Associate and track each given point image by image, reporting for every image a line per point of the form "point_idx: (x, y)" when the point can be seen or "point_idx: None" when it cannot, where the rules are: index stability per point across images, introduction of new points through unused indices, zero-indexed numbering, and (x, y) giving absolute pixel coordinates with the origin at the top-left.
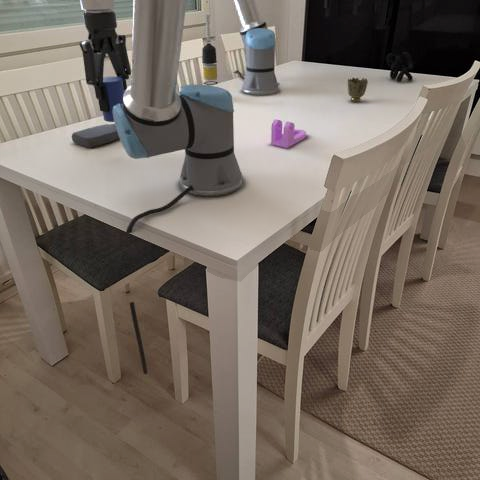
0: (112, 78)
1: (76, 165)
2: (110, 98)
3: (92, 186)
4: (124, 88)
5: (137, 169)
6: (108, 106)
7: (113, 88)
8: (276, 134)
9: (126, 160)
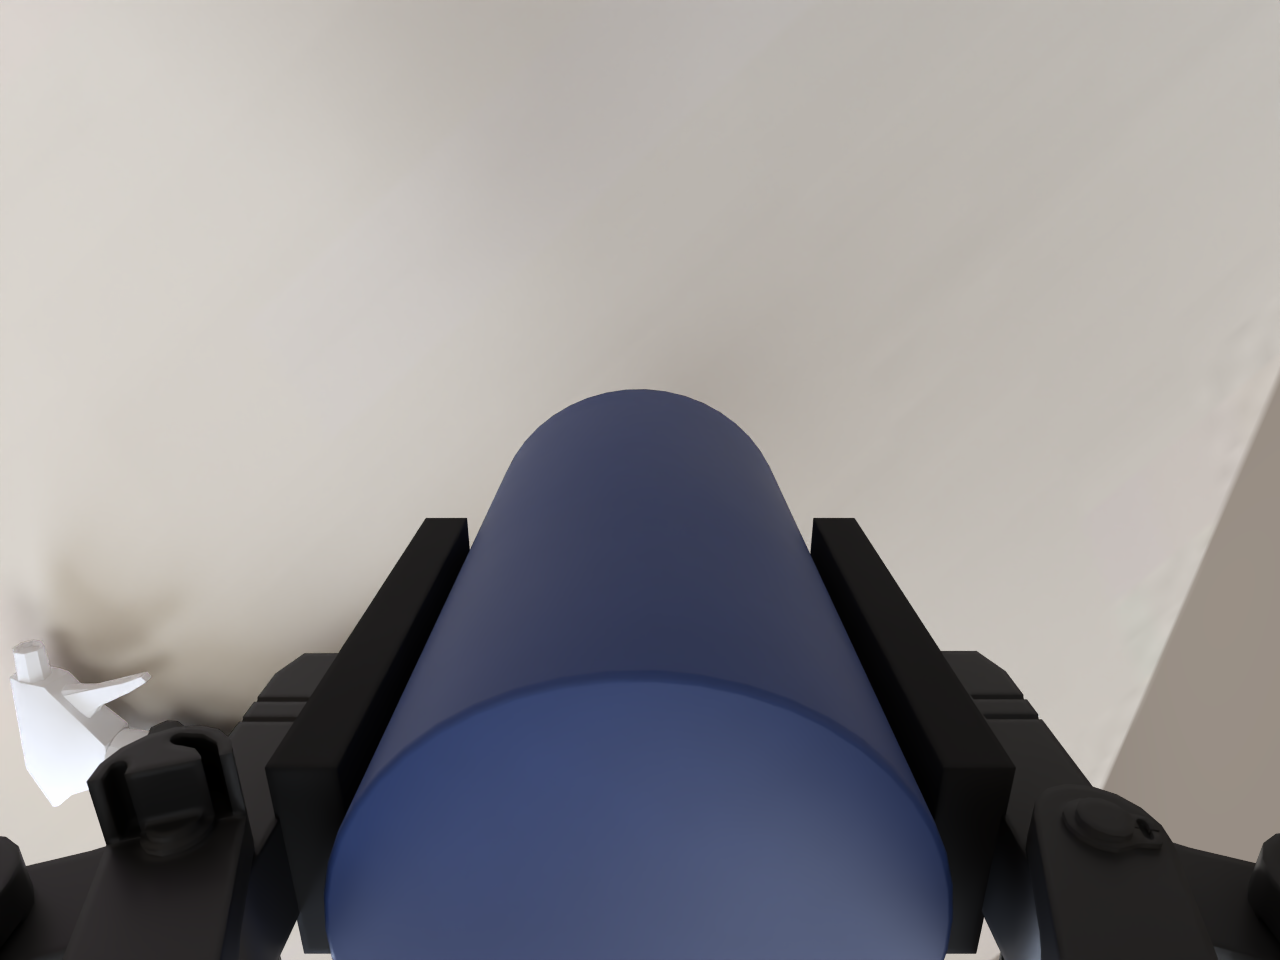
0: (540, 937)
1: (900, 579)
2: (822, 585)
3: (1190, 202)
4: (378, 656)
5: (786, 105)
6: (842, 550)
7: (799, 628)
8: None
9: (672, 328)
